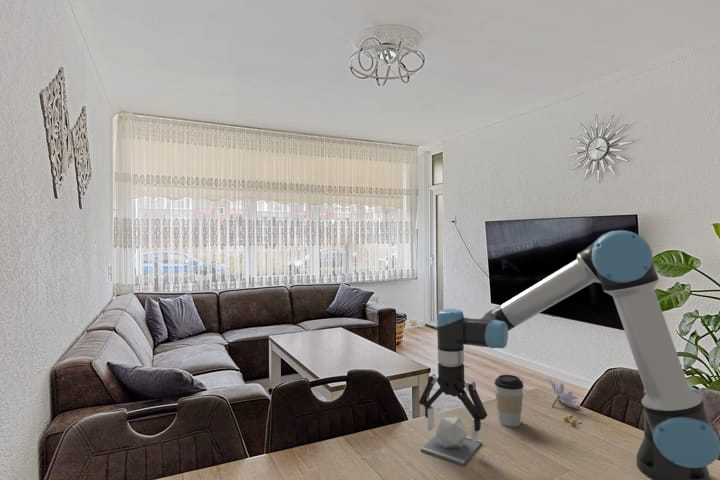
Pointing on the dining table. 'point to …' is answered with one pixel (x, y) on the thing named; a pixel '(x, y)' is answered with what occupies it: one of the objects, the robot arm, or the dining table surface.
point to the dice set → (572, 421)
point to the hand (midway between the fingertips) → (452, 435)
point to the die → (451, 432)
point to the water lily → (562, 394)
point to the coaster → (452, 450)
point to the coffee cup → (509, 399)
